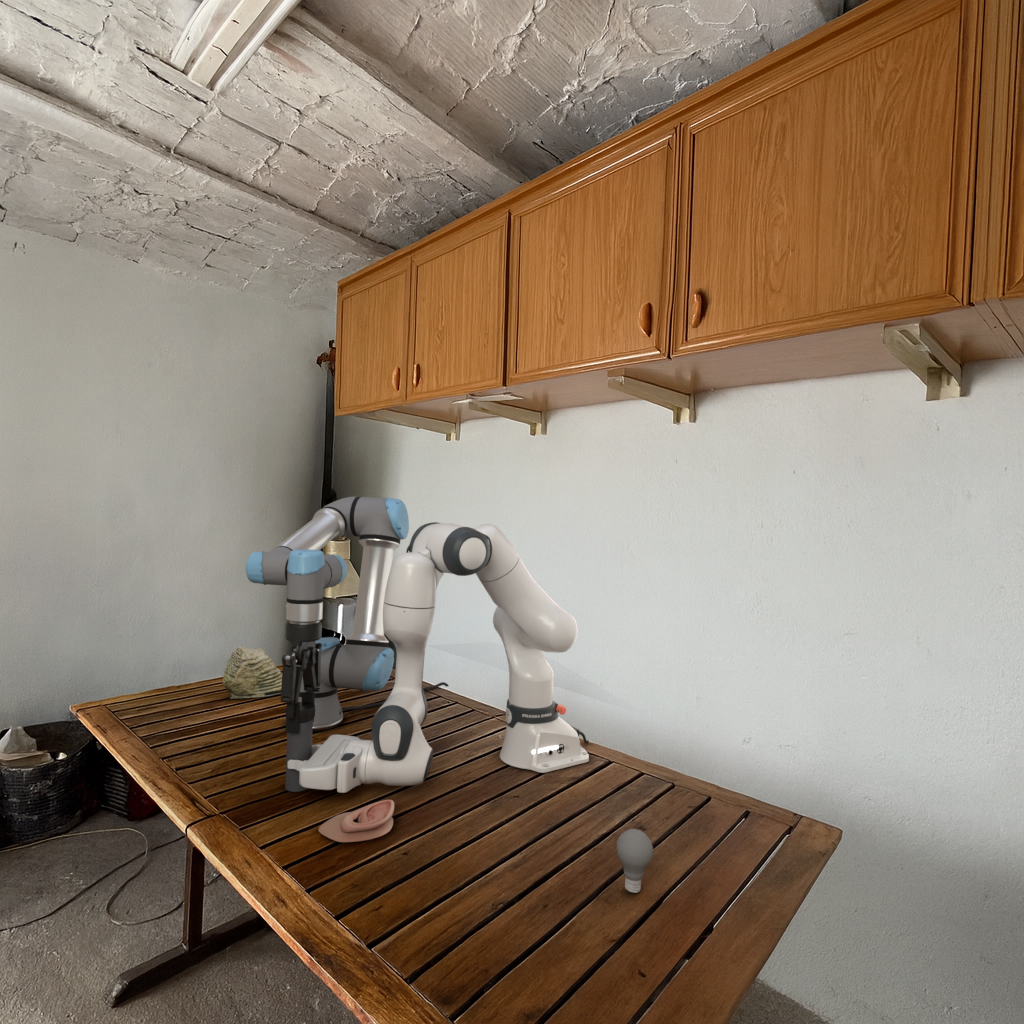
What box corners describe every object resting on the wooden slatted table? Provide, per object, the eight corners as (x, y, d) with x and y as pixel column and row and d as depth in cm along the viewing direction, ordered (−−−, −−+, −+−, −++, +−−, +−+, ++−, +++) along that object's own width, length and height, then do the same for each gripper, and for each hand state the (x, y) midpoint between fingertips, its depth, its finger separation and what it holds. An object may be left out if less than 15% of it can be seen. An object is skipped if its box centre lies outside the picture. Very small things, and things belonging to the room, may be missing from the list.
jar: (301, 778, 142) (304, 703, 141) (315, 786, 138) (318, 709, 138) (280, 786, 138) (283, 709, 137) (293, 794, 134) (296, 715, 134)
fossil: (218, 695, 195) (220, 647, 195) (278, 685, 208) (279, 640, 207) (228, 703, 189) (230, 653, 188) (289, 692, 201) (290, 645, 201)
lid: (296, 724, 133) (296, 712, 133) (280, 716, 137) (280, 705, 137) (320, 717, 138) (321, 706, 138) (304, 710, 142) (304, 699, 142)
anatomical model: (310, 816, 117) (339, 789, 129) (309, 837, 117) (338, 808, 129) (377, 827, 115) (401, 798, 126) (376, 848, 115) (400, 818, 126)
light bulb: (610, 879, 108) (613, 822, 108) (644, 879, 109) (647, 822, 109) (619, 902, 102) (622, 840, 102) (655, 901, 103) (658, 840, 103)
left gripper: (308, 612, 147) (304, 711, 148) (264, 628, 129) (260, 741, 129) (339, 614, 146) (335, 714, 147) (298, 631, 127) (294, 745, 128)
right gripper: (371, 729, 148) (312, 725, 148) (343, 766, 127) (275, 761, 128) (369, 756, 148) (311, 752, 148) (342, 797, 127) (274, 792, 128)
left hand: (300, 726), depth 138 cm, fingers closed on lid, 6 cm apart
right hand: (294, 757), depth 138 cm, fingers closed on jar, 5 cm apart
